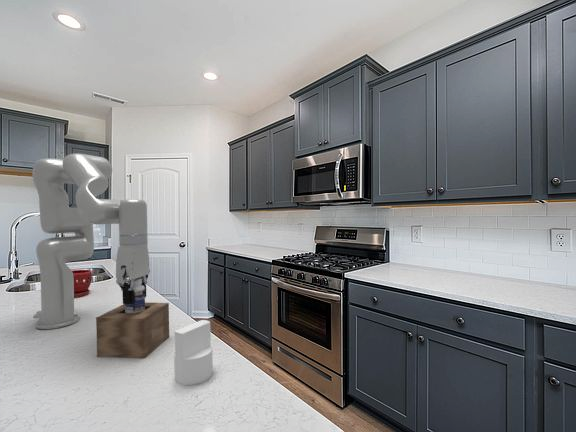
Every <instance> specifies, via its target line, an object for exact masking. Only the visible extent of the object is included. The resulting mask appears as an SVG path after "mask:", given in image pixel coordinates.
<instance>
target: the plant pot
mask: <svg viewBox="0 0 576 432" xmlns="http://www.w3.org/2000/svg"><path fill="white" fill-rule="evenodd" d="M71 270H72V269H71ZM72 272H73V279H74V298H80V297H84V296H86V295H88V294H89V293H90V291H91V290H90V289H89V288H90V286H91V284H92V279H93V270H90V269H75V270H72ZM83 295H84V296H83ZM79 296H80V297H79Z"/></svg>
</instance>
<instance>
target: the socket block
mask: <svg viewBox="0 0 576 432" xmlns="http://www.w3.org/2000/svg"><path fill="white" fill-rule="evenodd" d="M169 304H170V303H169V302H145V310H144V311H143V312H140V313H136V314H128V313H125V304H123V303H122V304H121V305H119V306H117V307H115V308H113V309H111V310H109V311H107V312H105V313H103V314H101V315H99V316H97V317H95V319H96V321H95V323H96V357H98V358H99V357H100V358H101V357H102V358H125V359H126V358H129V359H130V358H131V359H132V358H133V359H145V358H147V357H148V356H149V355H150V354H151V353H152V352H154V351H155V350H156V349H157V348H158V347H159V346H160V345H162V344H163V343H164V342H165V341H166V340H167V339H169V337H170V308H169V307H170V305H169Z"/></svg>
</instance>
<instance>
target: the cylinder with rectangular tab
mask: <svg viewBox="0 0 576 432" xmlns="http://www.w3.org/2000/svg"><path fill="white" fill-rule="evenodd" d="M211 340H212V337H211V321H209V320H206V319H201V320H198V321H196V322H194V323H191V324H189V325H186V326H183V327H181V328H180V329H176V330H174V353H173V354H174V355H173V359H174V366H173V367H174V370H173V371H174V381H175V382H176V383H177V384H179V385H182V386H193V385H197V384H200V383H203V382H205V381H207V380H208V379H209V378H210V377H212V375H213V372H214V371H213V370H214V369H213V367H214V366H213V365H214V364H213V362H214V361H213V346H212V344H211Z"/></svg>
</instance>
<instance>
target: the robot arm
mask: <svg viewBox="0 0 576 432" xmlns="http://www.w3.org/2000/svg"><path fill="white" fill-rule="evenodd" d="M112 174H113V167H112V164H111V163H110V161H109V160H108V159H107V158H105V157H102V156H96V155H90V154H86V153H85V154H84V153H77V152H76V153H70V154H68V155H66V156H65V157H64V158H63V159H60V158H53V157H52V158H51V157H50V158H49V157H48V158H40V159H38V160H36V162H35V163H34V164H33V167H32V180H33V185H34V186H35V189H36V191H37V194H38V201H39V203H38V204H39V206H38V207H39V219H40V221H39V222H40V228H41V229H42V231H43V232H44V233H46V234H69V233H70V234H71V233H72V234H73V233H74V236H57V237H48V238H45V239H42V240H40V242H38V243H37V245H36V248H35V250H36V251H35V253H36V257H37V260H38V266H39V274H40V276H39V277H40V308H41V310H37V312H36V313H35V314H33V317H32V318H33V319H38V321H37V322H36V323H35V328H36V329H37V330H53V329H59V328H63V327H68V326H71V325H73V324H75V323H77V322H78V321H79V320H80V315H79V314H75V297H74V279H73V272H72V269H71V268H70V266H68V264H66V263H70V262H76V261H84V260H88V259H89V258H91V257H92V256H93V254H94V251H95V239H94V225H114V224H116V225H118V234H119V235H118V237H119V238H118V239H119V241H118V242H119V243H118V244H119V246H118V248H117V253H116V259H115V260H116V263H115V278H116V279H115V280H116V281H115V282H116V285H118V286H119V288H120V290H121V291H122V305H123V304H133V303H134V290H132V289H133V283H134V280H135V279H137V278H142V284H141V285H143V286H144V287H145V298H147V283H148V278H149V275H150V273H151V269H150V255H149V248H148V245H149V243H148V239H149V237H148V206H147V205H148V204H147V202H146V201H145V200H143V199H109V198H107V199H106V198H105V199H103V198H97V197H98V196H100V195H103V194H104V193H105V192H106V191H107V189H108V188H109V179H110V178H111V176H112ZM60 184H70V185H76V187H77V190H76V193H75V205H76V207H71V206H70V202H69V195H68V193H67V191H66V190H65V189H64V188H63V187H62V185H60ZM127 282H129V285H128V284H127Z"/></svg>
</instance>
